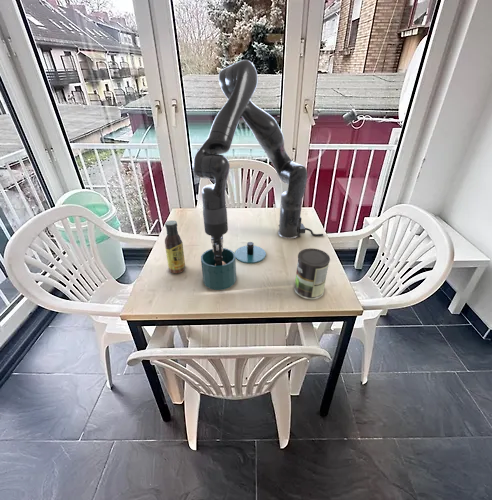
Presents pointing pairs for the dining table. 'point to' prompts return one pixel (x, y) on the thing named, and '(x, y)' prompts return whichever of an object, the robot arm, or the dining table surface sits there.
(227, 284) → the pot
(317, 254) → the coffee can
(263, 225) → the dining table surface
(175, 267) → the sauce bottle
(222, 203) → the robot arm
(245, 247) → the pot lid
